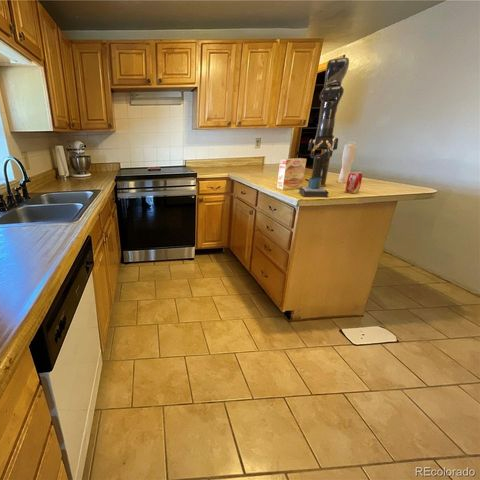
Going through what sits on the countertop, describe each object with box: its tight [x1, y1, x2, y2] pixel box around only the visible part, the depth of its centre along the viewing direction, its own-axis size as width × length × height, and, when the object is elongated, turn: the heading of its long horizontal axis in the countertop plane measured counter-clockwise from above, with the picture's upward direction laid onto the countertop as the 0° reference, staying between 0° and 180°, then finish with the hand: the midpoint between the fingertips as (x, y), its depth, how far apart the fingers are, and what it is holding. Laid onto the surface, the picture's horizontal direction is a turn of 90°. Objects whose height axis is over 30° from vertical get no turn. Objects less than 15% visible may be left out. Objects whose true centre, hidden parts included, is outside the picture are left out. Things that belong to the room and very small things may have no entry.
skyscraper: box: [337, 141, 358, 184], centre depth 188 cm, size 8×8×28 cm
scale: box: [299, 187, 330, 198], centre depth 160 cm, size 14×13×3 cm
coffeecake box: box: [276, 157, 307, 191], centre depth 177 cm, size 15×7×20 cm, turn 101°
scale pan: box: [302, 186, 326, 191], centre depth 159 cm, size 10×10×2 cm
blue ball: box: [307, 177, 322, 189], centre depth 158 cm, size 6×6×6 cm
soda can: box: [344, 171, 363, 194], centre depth 159 cm, size 7×7×12 cm
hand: (320, 157), depth 153 cm, fingers open, 8 cm apart
